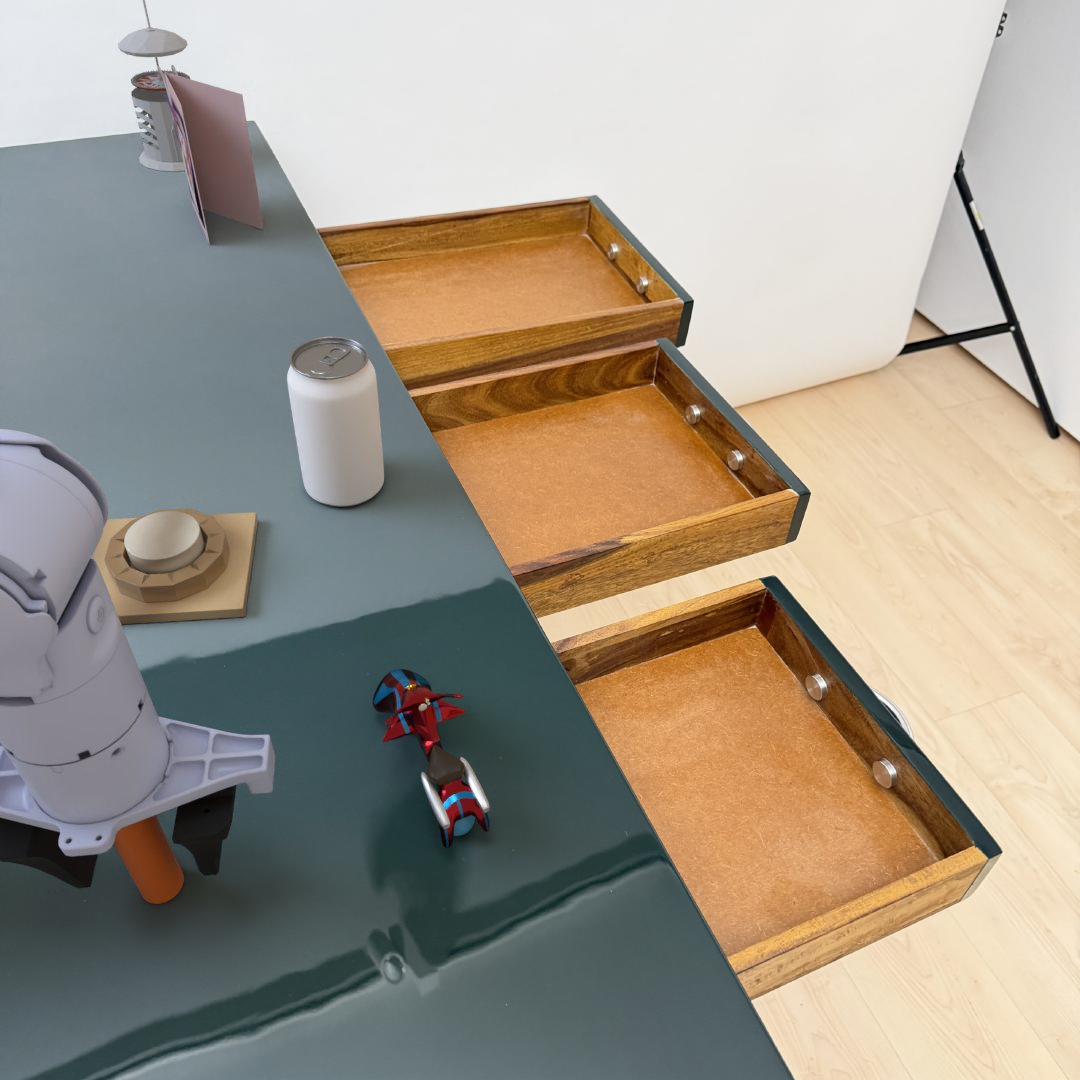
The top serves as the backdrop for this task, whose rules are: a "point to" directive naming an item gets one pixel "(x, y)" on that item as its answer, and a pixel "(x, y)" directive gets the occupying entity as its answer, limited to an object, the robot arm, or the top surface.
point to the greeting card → (215, 150)
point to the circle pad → (164, 542)
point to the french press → (155, 96)
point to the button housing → (182, 572)
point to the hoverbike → (433, 751)
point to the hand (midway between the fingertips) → (151, 863)
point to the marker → (150, 860)
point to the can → (336, 420)
